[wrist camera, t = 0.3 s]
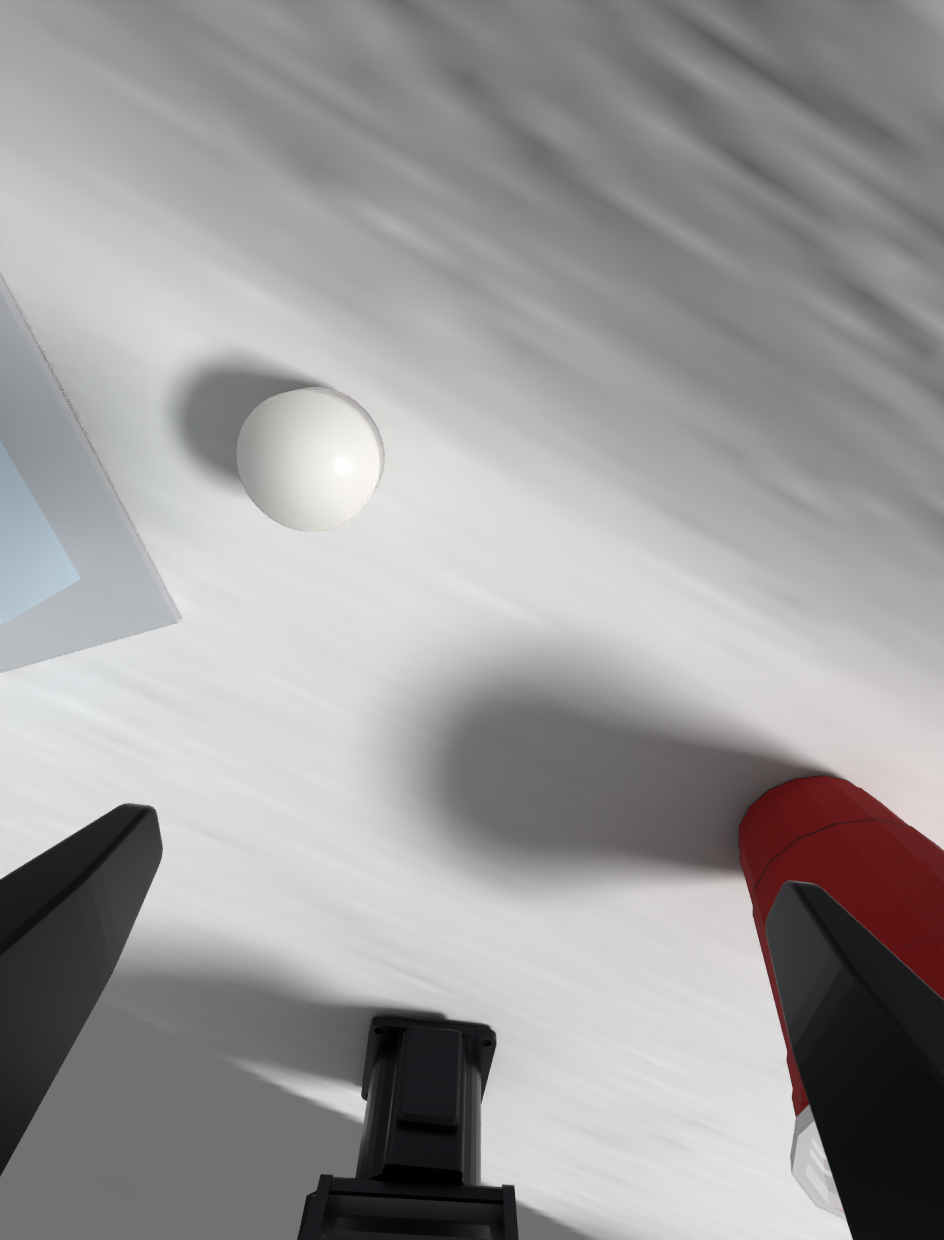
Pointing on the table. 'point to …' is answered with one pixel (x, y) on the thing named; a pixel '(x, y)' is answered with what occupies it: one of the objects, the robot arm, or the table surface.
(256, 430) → the white domed knob
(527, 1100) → the table surface
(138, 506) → the table surface
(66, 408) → the mat
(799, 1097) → the plastic cup
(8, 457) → the light blue block
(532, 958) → the table surface
